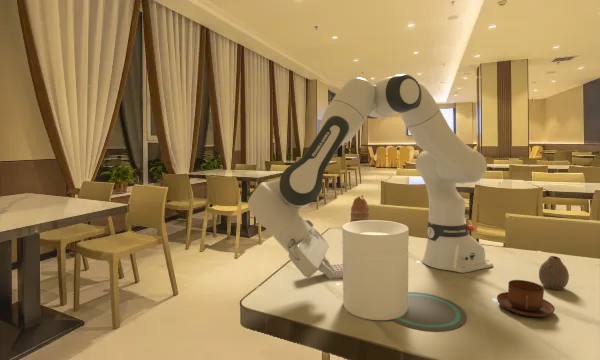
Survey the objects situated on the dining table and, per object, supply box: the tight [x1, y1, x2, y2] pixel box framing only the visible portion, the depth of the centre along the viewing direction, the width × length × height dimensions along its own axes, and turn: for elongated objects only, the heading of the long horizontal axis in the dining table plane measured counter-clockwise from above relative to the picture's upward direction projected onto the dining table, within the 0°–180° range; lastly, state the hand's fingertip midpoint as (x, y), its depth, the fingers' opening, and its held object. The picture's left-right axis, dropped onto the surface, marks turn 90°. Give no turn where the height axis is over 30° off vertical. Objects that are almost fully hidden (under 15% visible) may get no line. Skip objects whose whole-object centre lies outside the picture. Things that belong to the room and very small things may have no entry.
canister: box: [341, 219, 410, 321], centre depth 89 cm, size 16×16×20 cm
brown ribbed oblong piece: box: [350, 194, 370, 222], centre depth 156 cm, size 9×8×18 cm
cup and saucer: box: [496, 279, 556, 318], centre depth 87 cm, size 12×12×6 cm
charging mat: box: [390, 291, 467, 332], centre depth 91 cm, size 20×28×2 cm
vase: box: [538, 255, 570, 291], centre depth 100 cm, size 7×7×9 cm
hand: (332, 274), depth 91 cm, fingers closed
